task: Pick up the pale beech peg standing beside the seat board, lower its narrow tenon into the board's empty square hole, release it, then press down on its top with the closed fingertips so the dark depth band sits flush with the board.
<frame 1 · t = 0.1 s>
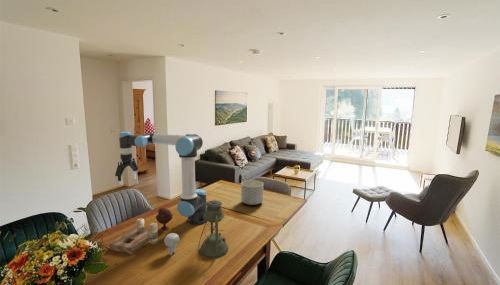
hand: (127, 182, 184), 28 cm above the table, fingers open, 13 cm apart
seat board: (134, 242, 158), on the table
ice cream bowl: (164, 228, 175), on the table
lantern: (213, 250, 152), on the table
peg: (154, 242, 157), on the table
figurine: (172, 254, 146), on the table
planter: (251, 203, 221), on the table
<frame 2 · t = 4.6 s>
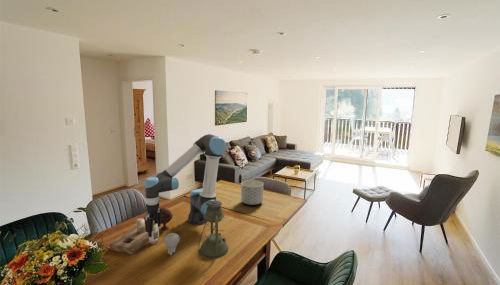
hand: (154, 238, 157), 3 cm above the table, fingers closed on peg, 5 cm apart
peg: (154, 242, 157), on the table, touching gripper
everything else where it was.
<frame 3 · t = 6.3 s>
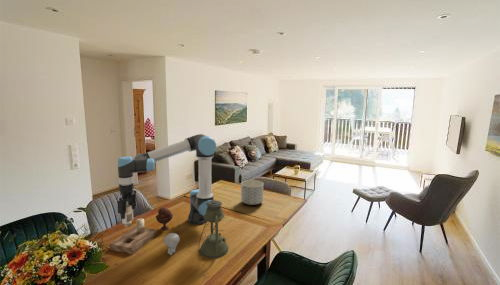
hand: (127, 221, 150), 16 cm above the table, fingers closed on peg, 5 cm apart
peg: (128, 225, 151), point 14 cm above the table, touching gripper
everything else where it was.
when the fingers open (5 cm above the table, at t = 8.1 s): peg drops 2 cm, resting in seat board.
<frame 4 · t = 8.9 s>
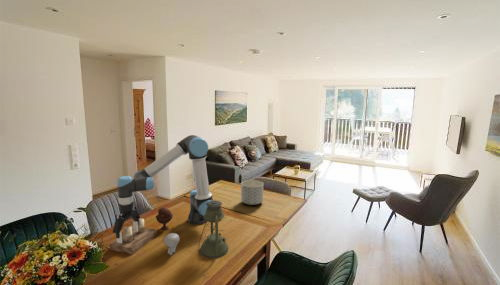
hand: (127, 236, 152), 6 cm above the table, fingers open, 13 cm apart
peg: (128, 246, 153), resting in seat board
everything else where it was.
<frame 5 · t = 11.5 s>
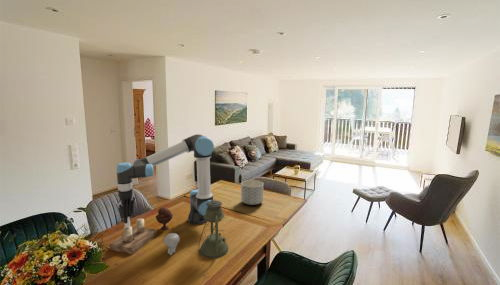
hand: (127, 227, 151), 12 cm above the table, fingers closed
nothing on the table moved.
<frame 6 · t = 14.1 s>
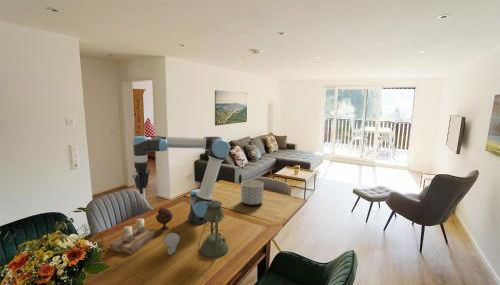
hand: (142, 198, 159), 26 cm above the table, fingers closed
nothing on the table moved.
at the end: peg 0.0 cm from the target spot on the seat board, point 0.0 cm above the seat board's base; peg tilted 0°; the gripper is holding nothing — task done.
